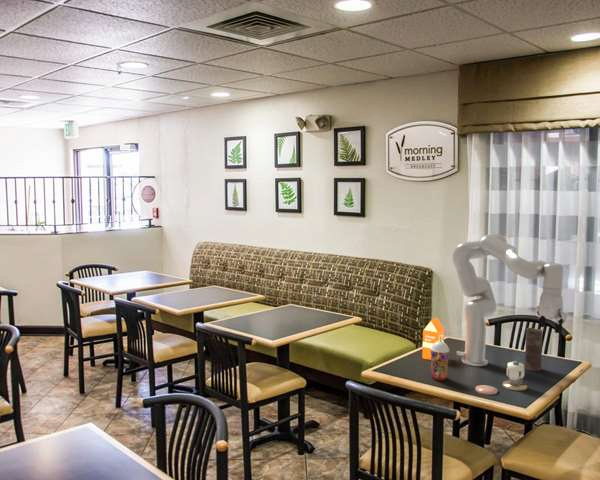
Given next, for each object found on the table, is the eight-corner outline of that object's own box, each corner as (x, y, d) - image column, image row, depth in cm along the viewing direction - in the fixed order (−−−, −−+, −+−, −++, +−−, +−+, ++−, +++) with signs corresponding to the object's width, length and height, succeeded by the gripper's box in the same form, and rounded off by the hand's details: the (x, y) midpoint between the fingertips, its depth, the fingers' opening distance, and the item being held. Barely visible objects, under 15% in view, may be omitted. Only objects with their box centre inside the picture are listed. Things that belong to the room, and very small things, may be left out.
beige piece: (500, 387, 243) (500, 369, 242) (505, 380, 251) (506, 363, 250) (524, 392, 237) (525, 374, 236) (529, 385, 246) (530, 367, 245)
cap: (505, 376, 243) (506, 362, 242) (509, 371, 248) (509, 358, 248) (521, 379, 239) (522, 365, 238) (525, 374, 245) (525, 361, 244)
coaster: (472, 391, 238) (472, 389, 238) (478, 385, 245) (478, 383, 245) (494, 396, 233) (494, 394, 233) (499, 389, 240) (499, 387, 240)
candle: (520, 367, 269) (522, 327, 267) (532, 365, 272) (534, 325, 270) (533, 372, 262) (535, 331, 260) (544, 370, 265) (547, 329, 263)
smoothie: (438, 382, 248) (439, 339, 246) (425, 376, 255) (427, 334, 253) (452, 379, 252) (454, 336, 250) (439, 374, 259) (441, 332, 257)
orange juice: (422, 358, 282) (423, 319, 280) (428, 353, 290) (429, 316, 288) (436, 361, 278) (438, 321, 276) (443, 356, 285) (444, 318, 283)
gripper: (531, 288, 251) (529, 325, 253) (559, 295, 234) (557, 335, 236) (545, 287, 253) (543, 324, 255) (574, 294, 237) (571, 334, 238)
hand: (550, 329), depth 245 cm, fingers open, 9 cm apart
